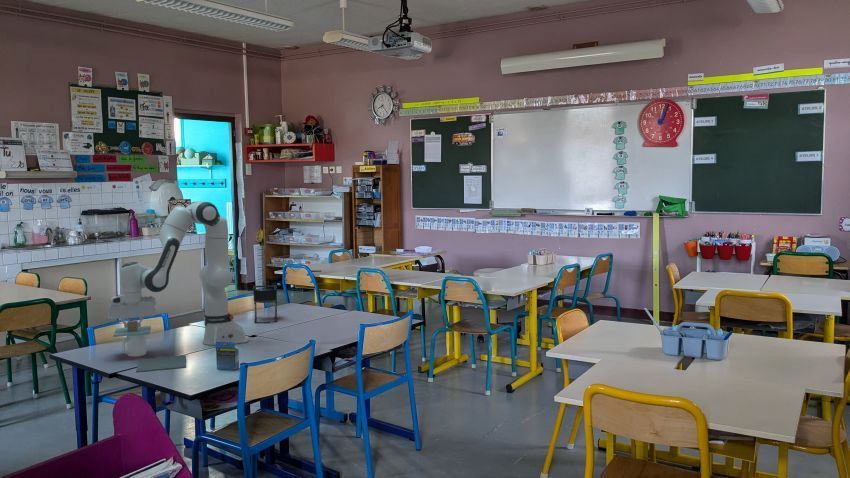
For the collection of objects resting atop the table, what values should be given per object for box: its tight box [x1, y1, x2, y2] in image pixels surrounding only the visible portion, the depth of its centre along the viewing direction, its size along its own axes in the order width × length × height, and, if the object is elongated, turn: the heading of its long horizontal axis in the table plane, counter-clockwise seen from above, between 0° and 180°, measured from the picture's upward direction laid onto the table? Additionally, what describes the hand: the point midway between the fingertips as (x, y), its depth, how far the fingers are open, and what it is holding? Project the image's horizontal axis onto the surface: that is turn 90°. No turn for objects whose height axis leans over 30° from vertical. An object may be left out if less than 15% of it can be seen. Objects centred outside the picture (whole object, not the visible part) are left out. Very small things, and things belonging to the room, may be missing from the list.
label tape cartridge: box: [215, 342, 240, 371], centre depth 285 cm, size 9×4×12 cm, turn 81°
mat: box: [135, 354, 187, 373], centre depth 293 cm, size 20×20×1 cm
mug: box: [121, 334, 147, 358], centre depth 307 cm, size 12×8×10 cm
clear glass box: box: [252, 284, 278, 324], centre depth 384 cm, size 13×17×22 cm
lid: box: [112, 320, 152, 338], centre depth 306 cm, size 15×15×5 cm
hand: (132, 326), depth 306 cm, fingers closed on lid, 4 cm apart
